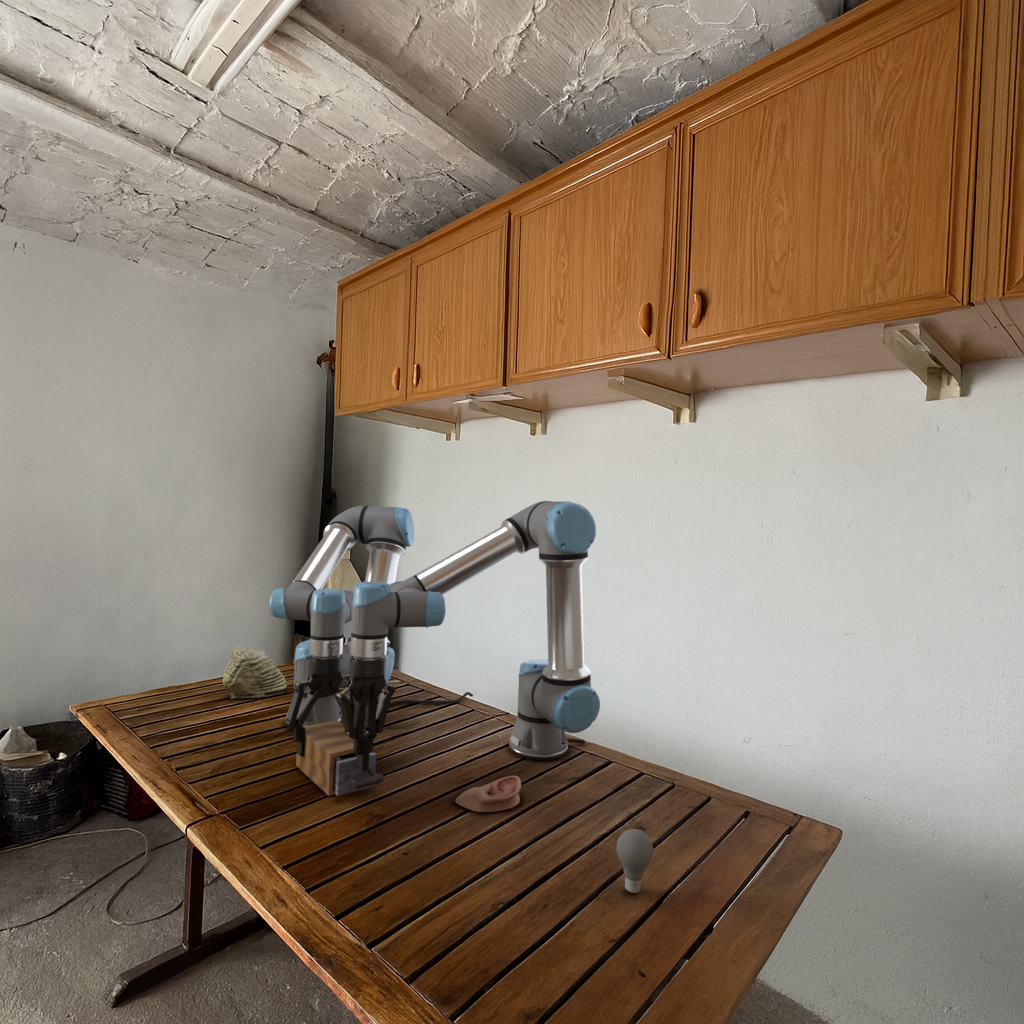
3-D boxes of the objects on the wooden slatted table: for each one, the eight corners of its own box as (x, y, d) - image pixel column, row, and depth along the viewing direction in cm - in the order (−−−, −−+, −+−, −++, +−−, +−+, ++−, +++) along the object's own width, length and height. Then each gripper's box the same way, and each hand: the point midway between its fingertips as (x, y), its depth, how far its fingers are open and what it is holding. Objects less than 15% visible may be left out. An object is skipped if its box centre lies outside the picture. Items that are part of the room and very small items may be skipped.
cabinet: (370, 784, 141) (372, 744, 140) (328, 796, 134) (330, 754, 134) (335, 756, 155) (337, 719, 154) (296, 765, 148) (297, 727, 148)
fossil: (218, 695, 195) (220, 647, 195) (278, 685, 208) (279, 640, 207) (228, 703, 189) (230, 653, 188) (289, 692, 201) (290, 645, 201)
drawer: (388, 796, 133) (389, 763, 133) (349, 807, 128) (351, 773, 128) (341, 758, 151) (342, 729, 151) (305, 767, 145) (307, 737, 145)
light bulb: (610, 879, 108) (613, 822, 108) (644, 879, 109) (647, 822, 109) (619, 902, 102) (622, 840, 102) (655, 901, 103) (658, 840, 103)
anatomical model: (451, 789, 131) (466, 766, 142) (450, 808, 131) (465, 784, 142) (514, 798, 128) (524, 774, 139) (513, 817, 128) (523, 792, 139)
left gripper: (284, 665, 138) (280, 766, 139) (377, 653, 153) (373, 744, 153) (272, 658, 144) (268, 754, 145) (362, 646, 159) (359, 734, 159)
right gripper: (347, 664, 125) (340, 782, 126) (404, 656, 134) (398, 767, 134) (331, 655, 131) (325, 768, 131) (387, 649, 139) (381, 755, 140)
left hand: (322, 749), depth 149 cm, fingers closed on cabinet, 10 cm apart
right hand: (362, 768), depth 133 cm, fingers closed
